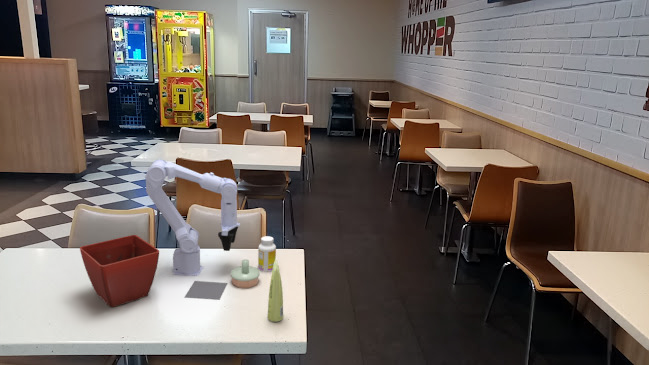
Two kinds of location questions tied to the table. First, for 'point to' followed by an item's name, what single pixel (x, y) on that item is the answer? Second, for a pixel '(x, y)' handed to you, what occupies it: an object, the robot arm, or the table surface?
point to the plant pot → (121, 268)
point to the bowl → (245, 283)
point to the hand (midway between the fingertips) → (229, 246)
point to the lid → (245, 272)
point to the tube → (275, 295)
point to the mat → (206, 290)
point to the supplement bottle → (266, 254)
